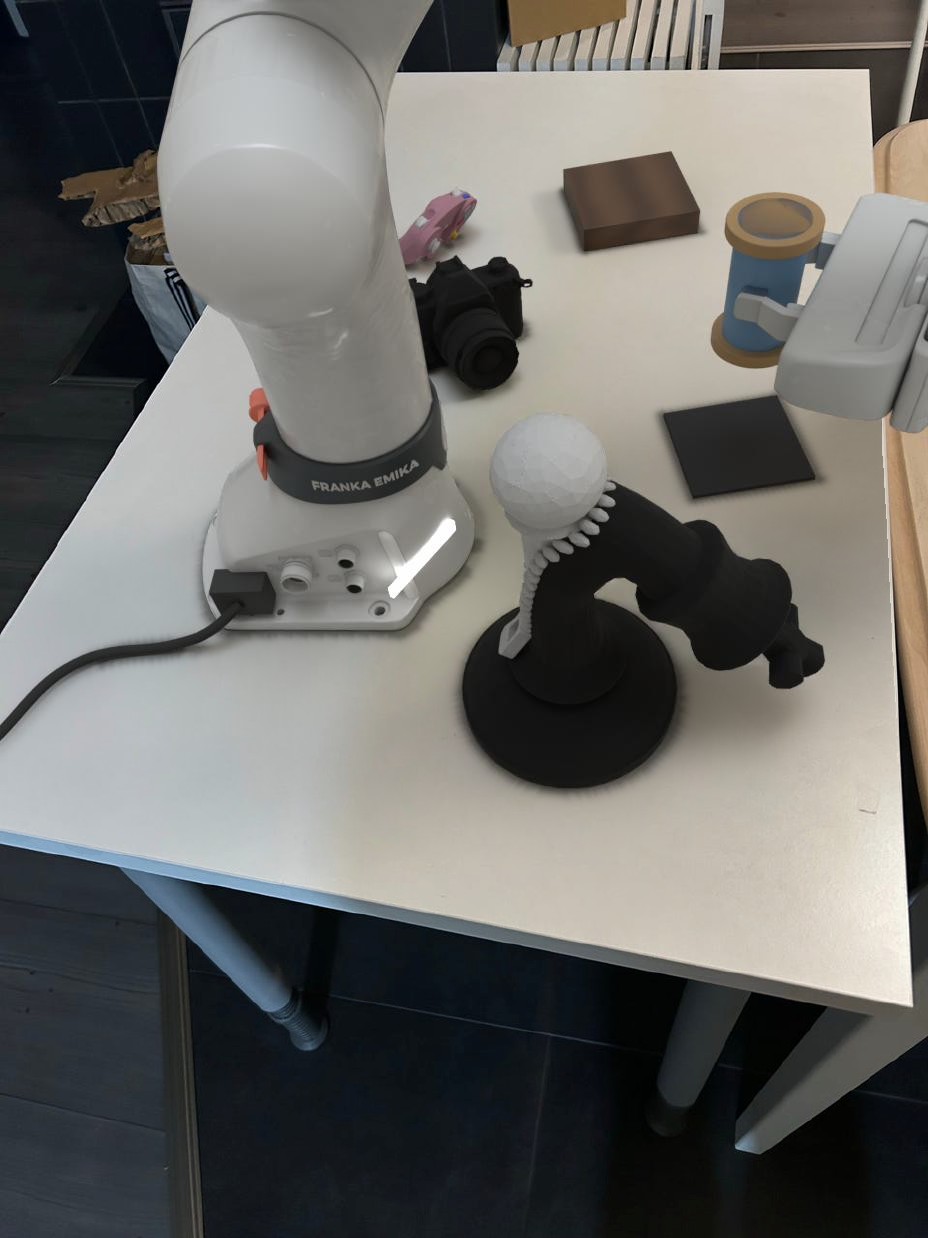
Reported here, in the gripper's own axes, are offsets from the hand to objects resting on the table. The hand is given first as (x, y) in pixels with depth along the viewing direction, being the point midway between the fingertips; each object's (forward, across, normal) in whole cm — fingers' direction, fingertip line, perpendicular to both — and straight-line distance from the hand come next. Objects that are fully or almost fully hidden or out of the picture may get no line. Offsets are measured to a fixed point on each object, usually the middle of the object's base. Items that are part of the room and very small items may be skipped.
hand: (752, 274), depth 65 cm
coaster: (-1, 0, +16) cm, 16 cm away
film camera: (+25, -1, +16) cm, 30 cm away
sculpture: (-2, +27, +16) cm, 31 cm away
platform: (+21, -29, +16) cm, 39 cm away
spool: (-1, 0, +6) cm, 6 cm away
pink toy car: (+38, -16, +16) cm, 44 cm away
